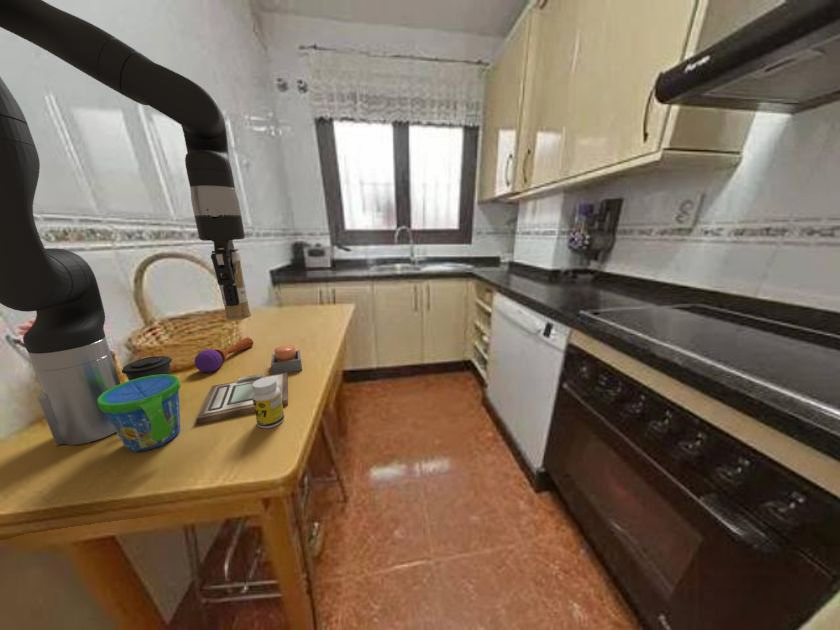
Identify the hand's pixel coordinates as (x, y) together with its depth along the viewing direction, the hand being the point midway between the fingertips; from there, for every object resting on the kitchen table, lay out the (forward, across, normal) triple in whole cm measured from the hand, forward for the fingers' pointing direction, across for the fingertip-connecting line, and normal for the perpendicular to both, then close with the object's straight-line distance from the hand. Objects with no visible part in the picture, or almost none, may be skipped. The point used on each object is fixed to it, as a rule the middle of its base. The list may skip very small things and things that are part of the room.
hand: (235, 302), depth 63 cm
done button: (+20, -13, +7) cm, 25 cm away
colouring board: (+21, 0, -1) cm, 21 cm away
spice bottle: (+3, 0, 0) cm, 3 cm away
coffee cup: (+22, -6, -19) cm, 29 cm away
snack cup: (+22, +9, -15) cm, 28 cm away
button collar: (+21, -13, +7) cm, 26 cm away
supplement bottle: (+22, +12, +4) cm, 25 cm away
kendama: (+22, -26, -9) cm, 35 cm away
